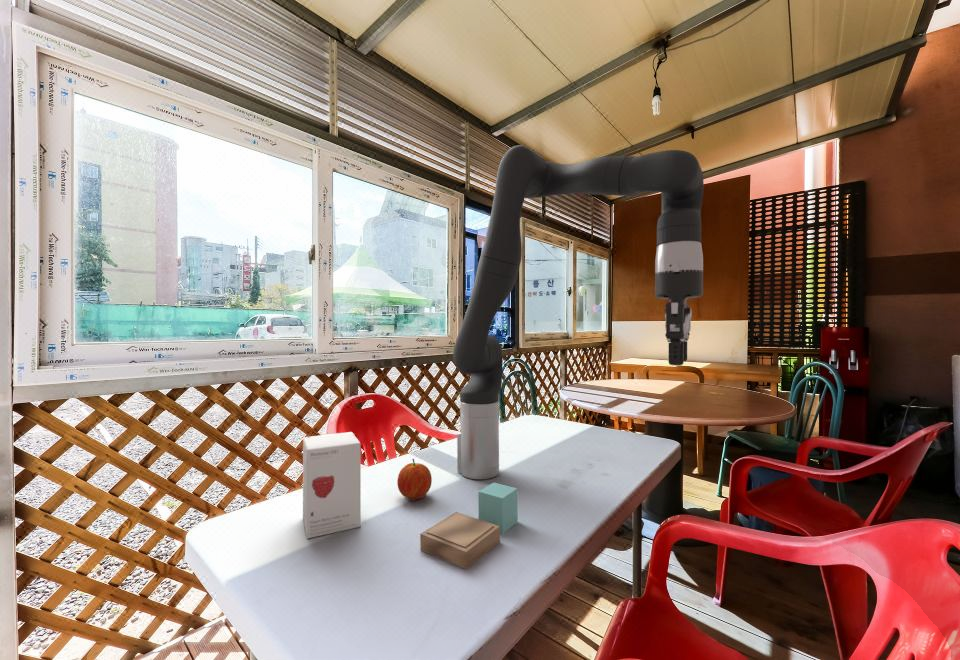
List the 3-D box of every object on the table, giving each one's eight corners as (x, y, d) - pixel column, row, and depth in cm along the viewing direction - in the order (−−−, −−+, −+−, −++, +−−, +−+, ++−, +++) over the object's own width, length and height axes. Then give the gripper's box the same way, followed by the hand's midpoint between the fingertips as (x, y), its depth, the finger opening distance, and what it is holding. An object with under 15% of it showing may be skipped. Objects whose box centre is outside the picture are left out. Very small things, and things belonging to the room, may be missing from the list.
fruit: (438, 497, 81) (438, 458, 81) (411, 508, 76) (411, 467, 76) (417, 488, 86) (417, 451, 86) (390, 498, 81) (390, 459, 81)
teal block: (478, 525, 70) (478, 491, 70) (494, 514, 74) (493, 482, 74) (502, 533, 67) (502, 498, 67) (517, 522, 71) (517, 488, 71)
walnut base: (420, 549, 62) (420, 532, 62) (456, 526, 69) (456, 510, 69) (466, 569, 57) (466, 550, 57) (499, 541, 64) (499, 524, 64)
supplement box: (305, 540, 65) (304, 449, 65) (302, 517, 73) (301, 436, 73) (362, 527, 69) (361, 441, 69) (353, 507, 77) (352, 430, 77)
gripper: (660, 276, 78) (660, 359, 78) (649, 267, 65) (649, 365, 66) (704, 274, 74) (704, 361, 74) (701, 263, 62) (701, 367, 62)
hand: (678, 363), depth 70 cm, fingers open, 8 cm apart
